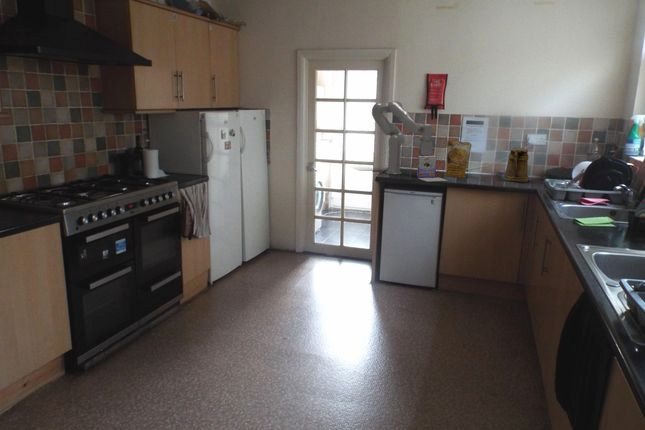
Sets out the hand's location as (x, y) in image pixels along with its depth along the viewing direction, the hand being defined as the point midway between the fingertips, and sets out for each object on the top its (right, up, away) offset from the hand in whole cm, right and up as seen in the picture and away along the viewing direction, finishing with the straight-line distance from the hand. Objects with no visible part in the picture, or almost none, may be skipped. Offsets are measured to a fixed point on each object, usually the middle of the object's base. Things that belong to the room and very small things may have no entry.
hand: (424, 163), depth 379 cm
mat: (+4, -14, -12) cm, 19 cm away
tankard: (+68, -14, -8) cm, 70 cm away
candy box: (+1, -11, -2) cm, 11 cm away
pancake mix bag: (+26, -10, +5) cm, 28 cm away
